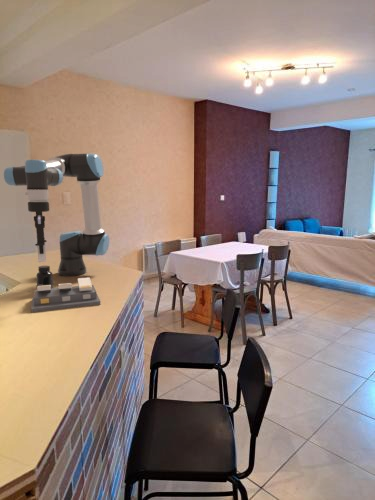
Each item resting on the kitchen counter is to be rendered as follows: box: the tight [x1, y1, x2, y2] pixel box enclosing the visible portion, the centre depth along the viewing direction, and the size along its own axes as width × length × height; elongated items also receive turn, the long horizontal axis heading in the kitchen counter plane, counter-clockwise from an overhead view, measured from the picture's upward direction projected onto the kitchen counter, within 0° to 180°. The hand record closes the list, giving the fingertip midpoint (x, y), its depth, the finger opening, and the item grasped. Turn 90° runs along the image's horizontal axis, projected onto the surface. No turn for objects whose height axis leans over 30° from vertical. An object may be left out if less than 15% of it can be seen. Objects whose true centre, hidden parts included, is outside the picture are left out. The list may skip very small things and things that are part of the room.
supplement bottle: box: [35, 265, 54, 289], centre depth 159 cm, size 7×7×12 cm
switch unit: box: [30, 284, 101, 313], centre depth 145 cm, size 16×26×6 cm, turn 112°
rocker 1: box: [36, 285, 51, 291], centre depth 143 cm, size 9×5×2 cm, turn 22°
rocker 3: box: [77, 276, 93, 291], centre depth 149 cm, size 9×5×2 cm, turn 22°
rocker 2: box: [57, 282, 73, 289], centre depth 146 cm, size 9×5×2 cm, turn 22°
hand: (42, 260), depth 138 cm, fingers open, 6 cm apart
